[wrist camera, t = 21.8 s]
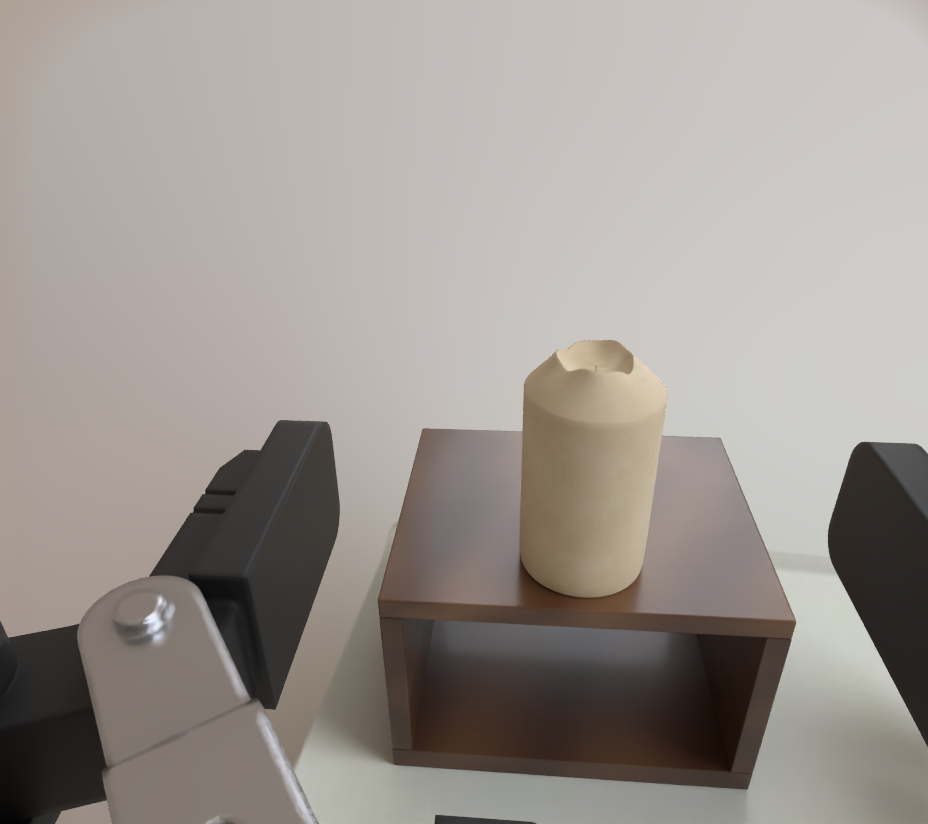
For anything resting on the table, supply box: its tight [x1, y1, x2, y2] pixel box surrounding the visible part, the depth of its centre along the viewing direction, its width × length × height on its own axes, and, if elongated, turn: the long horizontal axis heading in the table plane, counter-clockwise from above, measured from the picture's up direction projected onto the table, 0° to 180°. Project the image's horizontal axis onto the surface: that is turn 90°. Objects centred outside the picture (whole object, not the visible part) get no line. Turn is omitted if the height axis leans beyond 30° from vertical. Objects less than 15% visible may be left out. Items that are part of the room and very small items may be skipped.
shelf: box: [378, 428, 796, 789], centre depth 39 cm, size 17×14×11 cm
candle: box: [520, 340, 667, 598], centre depth 30 cm, size 6×6×10 cm
